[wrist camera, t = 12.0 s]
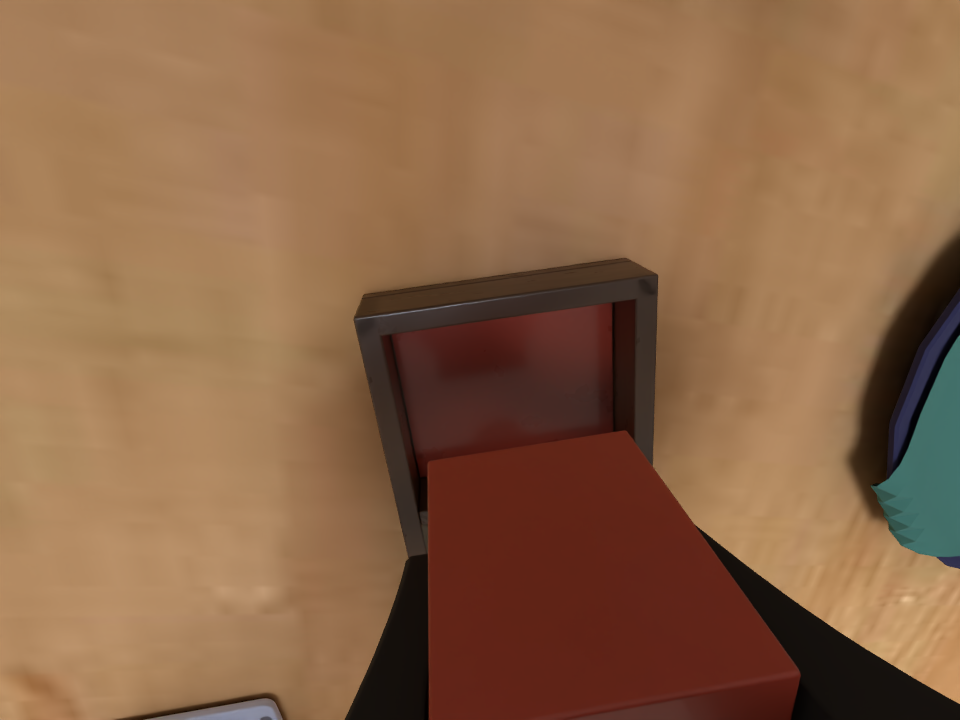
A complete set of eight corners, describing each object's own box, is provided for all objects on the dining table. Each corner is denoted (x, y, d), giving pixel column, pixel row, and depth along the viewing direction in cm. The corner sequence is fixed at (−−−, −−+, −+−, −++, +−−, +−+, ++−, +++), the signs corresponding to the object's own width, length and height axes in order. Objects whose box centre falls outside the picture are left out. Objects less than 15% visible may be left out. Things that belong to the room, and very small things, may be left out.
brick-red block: (626, 576, 12) (761, 863, 7) (455, 605, 12) (475, 920, 7) (627, 428, 11) (804, 673, 6) (426, 460, 11) (428, 742, 5)
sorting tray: (625, 580, 23) (648, 628, 20) (432, 613, 22) (433, 666, 20) (627, 257, 17) (659, 273, 14) (362, 294, 16) (352, 317, 14)
